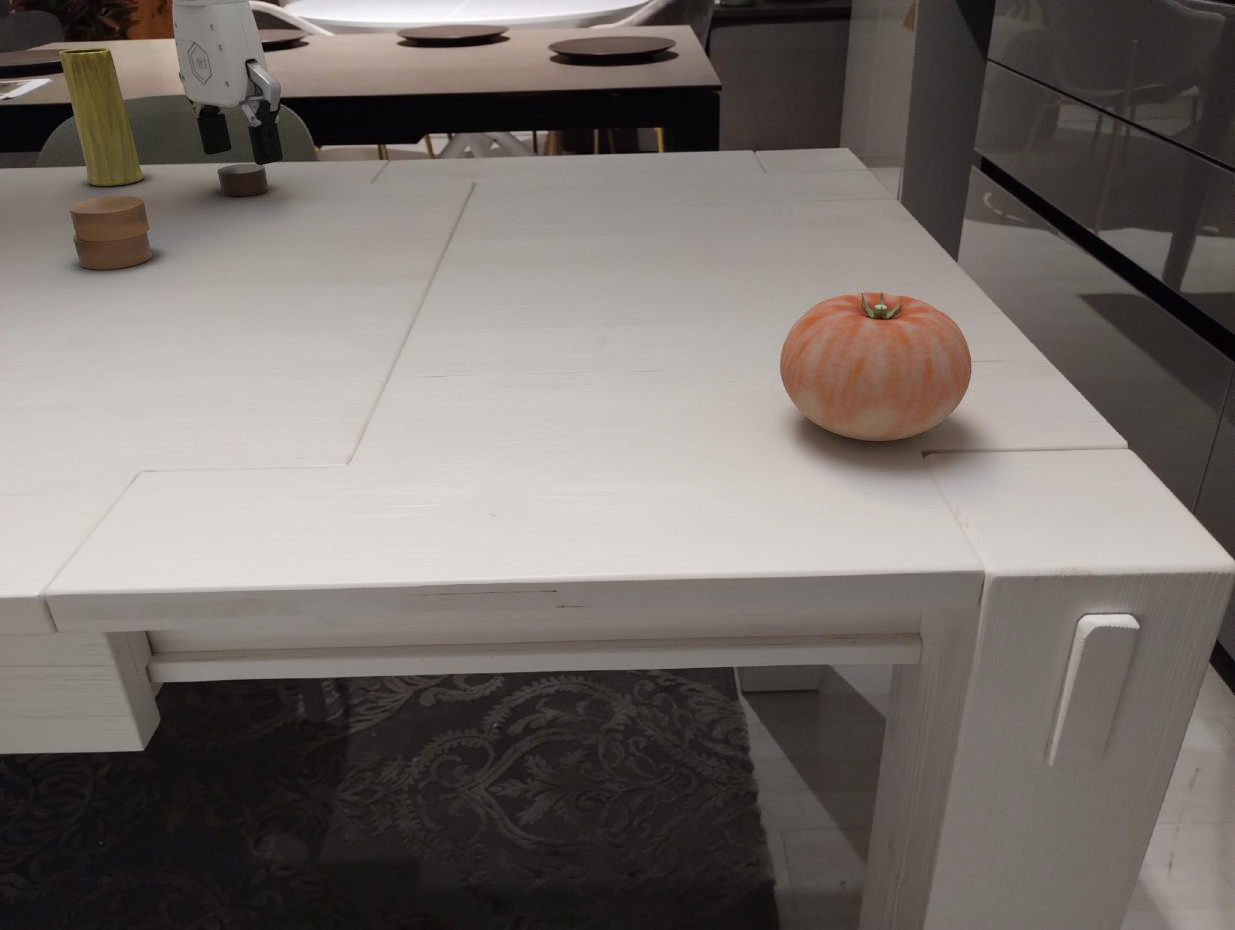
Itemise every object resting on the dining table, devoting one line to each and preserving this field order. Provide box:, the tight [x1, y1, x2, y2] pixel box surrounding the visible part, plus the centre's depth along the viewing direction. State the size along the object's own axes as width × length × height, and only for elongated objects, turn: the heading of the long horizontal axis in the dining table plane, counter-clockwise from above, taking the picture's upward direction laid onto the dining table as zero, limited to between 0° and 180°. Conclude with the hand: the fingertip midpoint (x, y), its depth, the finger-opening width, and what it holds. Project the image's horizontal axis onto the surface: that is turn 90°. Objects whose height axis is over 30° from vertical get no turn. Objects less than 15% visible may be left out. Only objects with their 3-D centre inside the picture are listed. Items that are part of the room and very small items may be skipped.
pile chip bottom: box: [72, 231, 153, 271], centre depth 91 cm, size 6×6×2 cm
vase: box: [58, 47, 145, 187], centre depth 116 cm, size 6×6×14 cm
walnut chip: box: [217, 163, 269, 198], centre depth 113 cm, size 5×5×2 cm
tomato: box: [779, 291, 973, 442], centre depth 59 cm, size 11×11×8 cm
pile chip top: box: [68, 195, 150, 242], centre depth 90 cm, size 6×6×2 cm
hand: (243, 157), depth 112 cm, fingers open, 9 cm apart
